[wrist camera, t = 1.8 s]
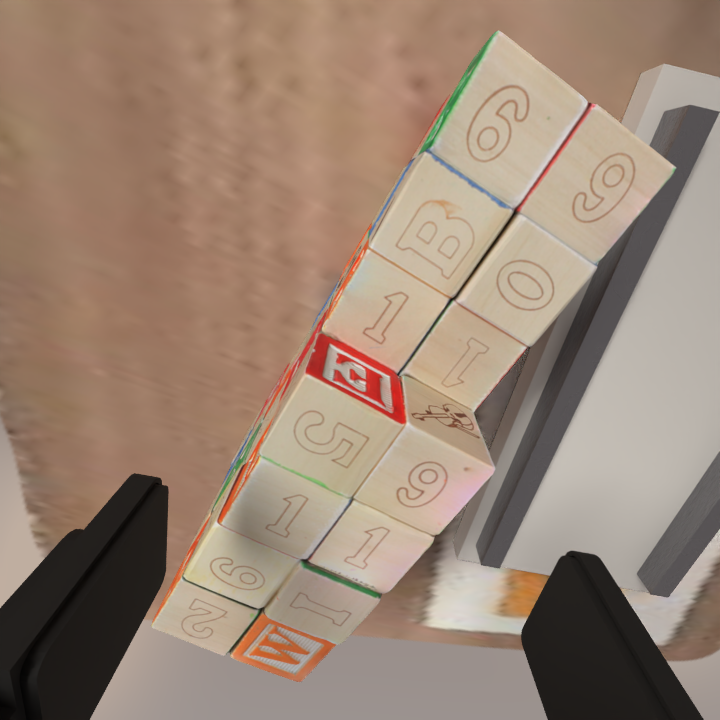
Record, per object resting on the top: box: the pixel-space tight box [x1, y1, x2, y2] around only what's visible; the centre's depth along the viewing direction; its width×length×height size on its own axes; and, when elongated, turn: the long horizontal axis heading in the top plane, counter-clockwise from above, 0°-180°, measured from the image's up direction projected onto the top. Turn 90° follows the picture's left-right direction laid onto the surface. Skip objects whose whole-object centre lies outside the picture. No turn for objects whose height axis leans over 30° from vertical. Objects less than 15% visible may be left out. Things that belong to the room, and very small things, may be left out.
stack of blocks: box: [151, 31, 676, 682], centre depth 17 cm, size 21×6×12 cm, turn 149°
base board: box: [453, 64, 720, 597], centre depth 22 cm, size 28×14×3 cm, turn 168°
